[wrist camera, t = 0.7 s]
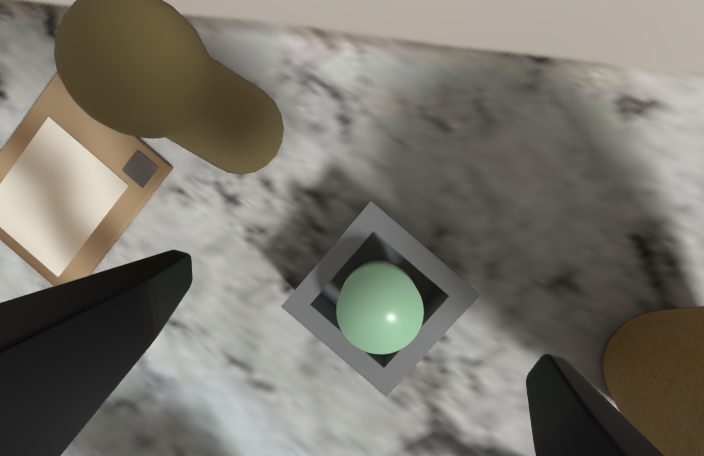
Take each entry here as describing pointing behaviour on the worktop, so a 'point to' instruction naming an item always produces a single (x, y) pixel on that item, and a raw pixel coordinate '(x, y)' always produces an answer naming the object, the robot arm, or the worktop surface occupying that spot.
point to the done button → (379, 307)
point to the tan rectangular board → (71, 186)
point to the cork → (163, 83)
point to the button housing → (420, 264)
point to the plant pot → (661, 377)
